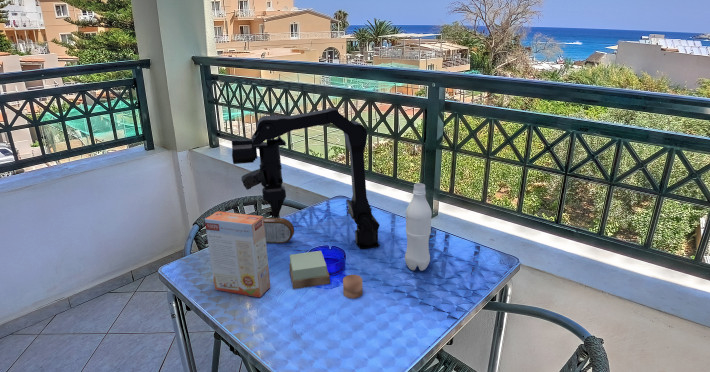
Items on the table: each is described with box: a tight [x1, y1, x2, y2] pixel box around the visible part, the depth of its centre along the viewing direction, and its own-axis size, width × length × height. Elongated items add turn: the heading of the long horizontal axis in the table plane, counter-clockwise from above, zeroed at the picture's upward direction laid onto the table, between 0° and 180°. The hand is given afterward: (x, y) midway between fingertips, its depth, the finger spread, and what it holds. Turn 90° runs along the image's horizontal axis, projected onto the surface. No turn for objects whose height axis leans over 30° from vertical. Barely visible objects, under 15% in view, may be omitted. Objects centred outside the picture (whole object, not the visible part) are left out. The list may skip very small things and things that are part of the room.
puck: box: [342, 274, 363, 299], centre depth 109 cm, size 5×5×4 cm
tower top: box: [289, 250, 328, 280], centre depth 116 cm, size 9×9×3 cm
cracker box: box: [204, 210, 271, 298], centre depth 109 cm, size 14×6×21 cm, turn 71°
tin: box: [263, 217, 295, 245], centre depth 137 cm, size 15×3×8 cm, turn 84°
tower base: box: [288, 262, 331, 290], centre depth 117 cm, size 10×10×3 cm
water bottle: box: [404, 182, 433, 272], centre depth 117 cm, size 7×7×25 cm
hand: (275, 211), depth 125 cm, fingers open, 9 cm apart
